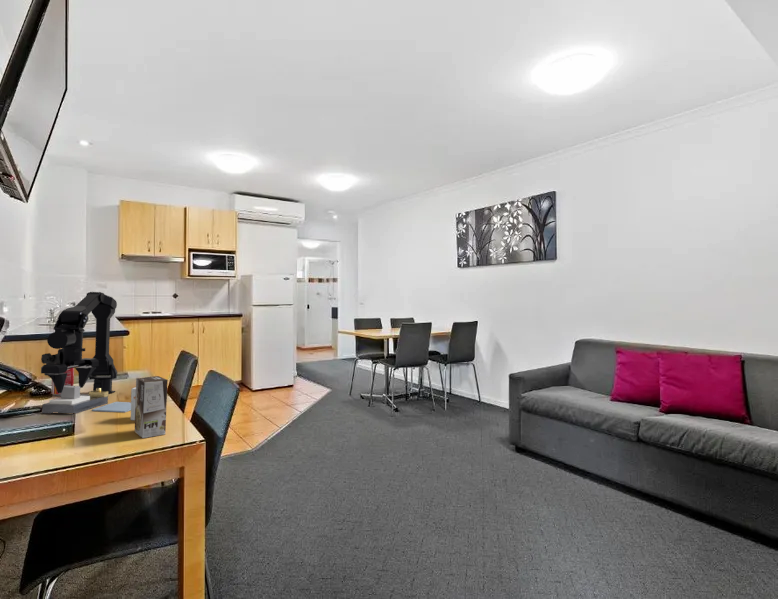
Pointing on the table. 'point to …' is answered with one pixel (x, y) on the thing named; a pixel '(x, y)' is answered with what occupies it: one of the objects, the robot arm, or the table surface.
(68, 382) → the soda can
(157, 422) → the coffee box
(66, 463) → the table surface
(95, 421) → the table surface
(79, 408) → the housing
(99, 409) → the pad
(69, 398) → the lid
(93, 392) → the pegged block
